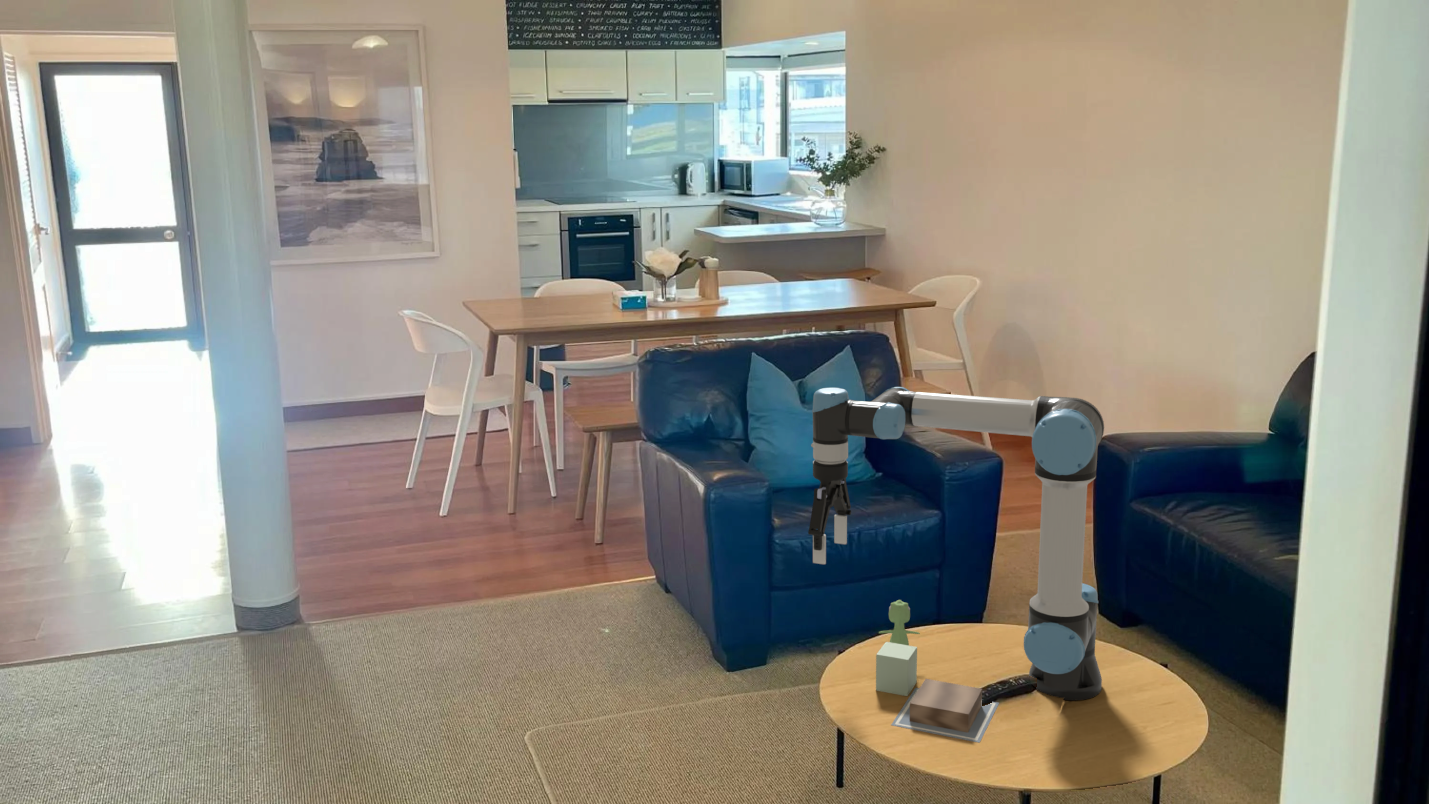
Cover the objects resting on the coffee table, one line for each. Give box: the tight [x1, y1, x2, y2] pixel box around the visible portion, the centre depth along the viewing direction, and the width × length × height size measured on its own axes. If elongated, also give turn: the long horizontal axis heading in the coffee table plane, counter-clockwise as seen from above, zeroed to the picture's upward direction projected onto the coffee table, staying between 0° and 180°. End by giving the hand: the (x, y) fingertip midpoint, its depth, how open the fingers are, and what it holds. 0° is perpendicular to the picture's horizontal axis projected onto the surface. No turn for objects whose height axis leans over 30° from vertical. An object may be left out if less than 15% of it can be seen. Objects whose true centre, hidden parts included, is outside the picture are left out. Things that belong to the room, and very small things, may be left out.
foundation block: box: [910, 678, 983, 733], centre depth 242 cm, size 12×12×4 cm
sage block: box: [875, 641, 918, 697], centre depth 254 cm, size 7×7×9 cm
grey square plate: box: [890, 687, 1000, 743], centre depth 243 cm, size 18×18×1 cm
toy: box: [878, 599, 921, 646], centre depth 266 cm, size 7×8×15 cm
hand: (830, 553), depth 258 cm, fingers open, 13 cm apart
